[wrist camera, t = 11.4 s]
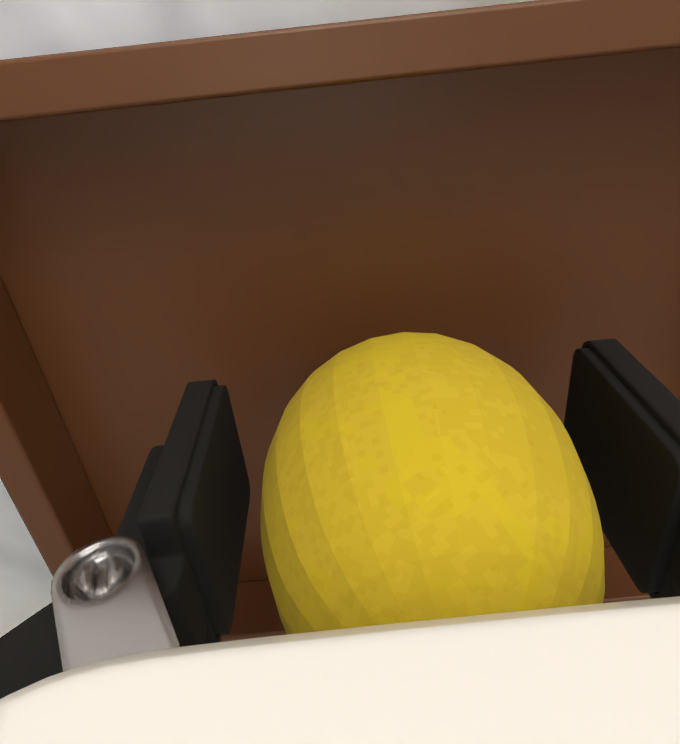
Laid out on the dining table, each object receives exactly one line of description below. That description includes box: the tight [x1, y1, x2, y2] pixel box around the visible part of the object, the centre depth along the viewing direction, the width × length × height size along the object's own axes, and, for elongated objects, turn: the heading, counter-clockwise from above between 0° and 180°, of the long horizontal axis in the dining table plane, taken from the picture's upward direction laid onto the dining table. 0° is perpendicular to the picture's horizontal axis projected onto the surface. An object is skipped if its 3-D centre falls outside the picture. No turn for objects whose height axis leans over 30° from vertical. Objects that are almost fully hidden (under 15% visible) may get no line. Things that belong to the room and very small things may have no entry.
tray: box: [0, 0, 680, 642], centre depth 13 cm, size 18×15×3 cm
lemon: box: [260, 332, 605, 634], centre depth 10 cm, size 6×6×8 cm
